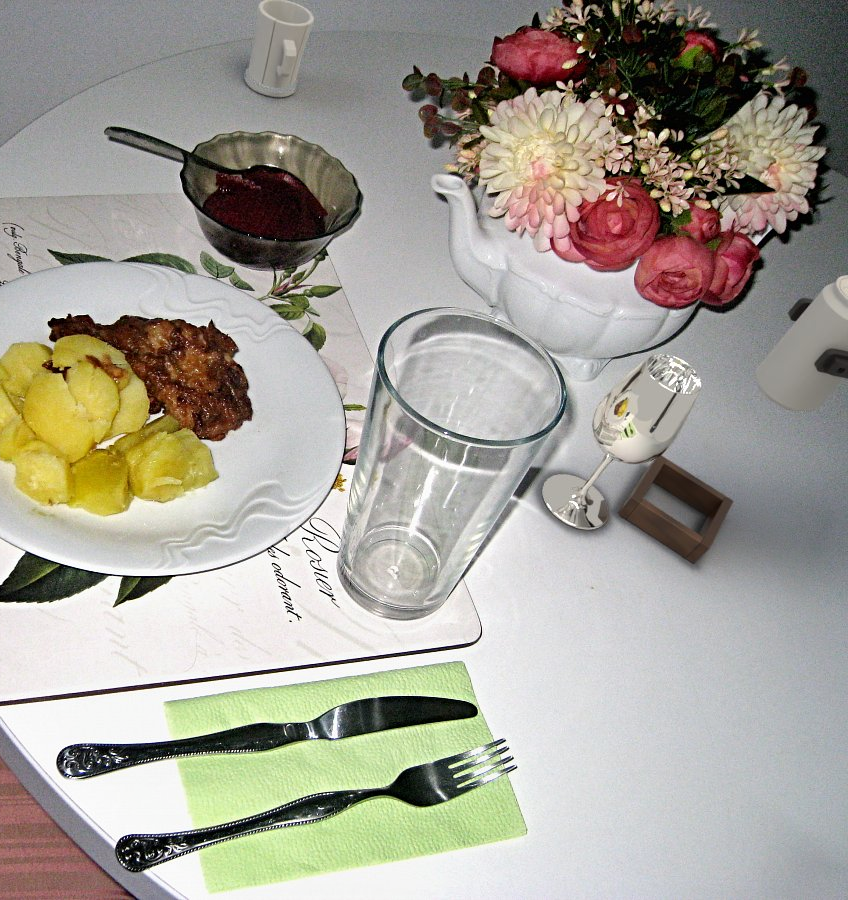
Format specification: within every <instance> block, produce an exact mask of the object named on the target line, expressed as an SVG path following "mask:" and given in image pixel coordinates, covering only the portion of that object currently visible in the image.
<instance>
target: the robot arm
mask: <svg viewBox="0 0 848 900" xmlns="http://www.w3.org/2000/svg"><path fill="white" fill-rule="evenodd" d="M814 299H815V298H814ZM814 299H813V298H809V297H801V298H800V299H798V300H797V301H796V302H795V303H794V304H793V306H792V307H791V308H790V309H789V310H788V312H787V315H788V317H789V319H790V321H792V322H796V321H797V320H798V318H799V317H800V316H801V315H802V314H803V312H804V311H805V310H806V309H807V308H808V306H809V305H810V304H811V303H812V302H813V300H814ZM814 365H815V367H816V369H817V371H818V372H822V373H827V374H830V375H832V376H837V377H843V378H846V379H848V351H843V350H838V349H833V348H831V349H827V350H826V351H825V352H824V353H823V354H822V355H821V356H820V357H819V358H818V359H817V360H816V361H815V363H814ZM846 379H845V380H846Z"/></svg>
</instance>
